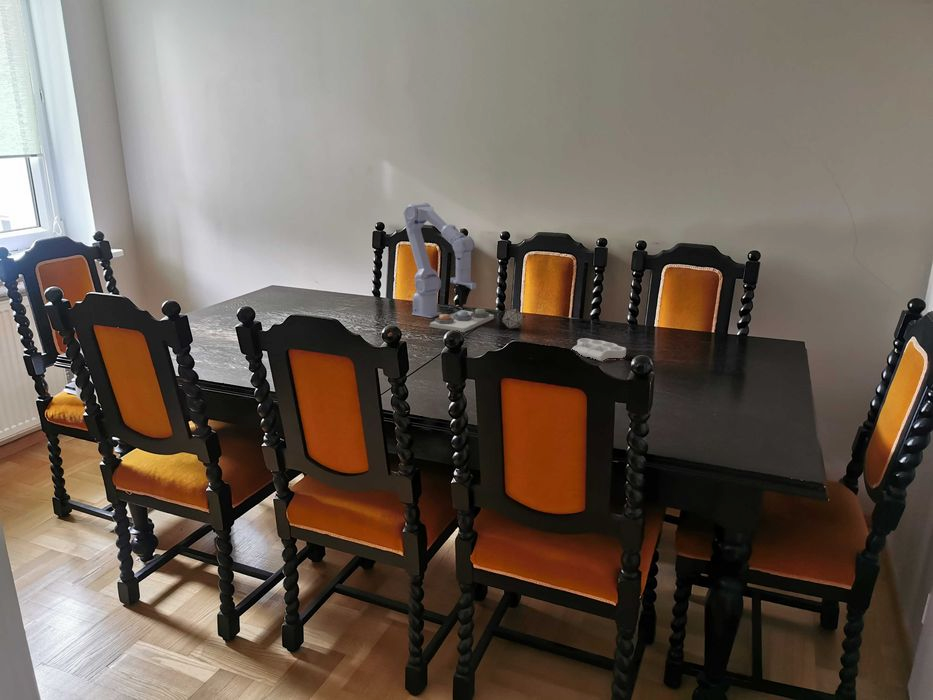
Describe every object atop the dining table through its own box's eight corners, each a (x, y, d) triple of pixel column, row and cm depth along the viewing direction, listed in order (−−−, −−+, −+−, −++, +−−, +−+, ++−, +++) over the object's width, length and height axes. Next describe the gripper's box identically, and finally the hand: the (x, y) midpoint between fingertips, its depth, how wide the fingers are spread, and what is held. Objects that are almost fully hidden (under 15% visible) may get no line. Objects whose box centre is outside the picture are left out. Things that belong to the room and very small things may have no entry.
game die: (516, 339, 261) (526, 322, 254) (495, 331, 261) (504, 314, 253) (520, 323, 267) (529, 306, 260) (499, 315, 267) (508, 297, 259)
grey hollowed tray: (563, 353, 234) (588, 345, 244) (608, 365, 222) (633, 356, 232) (563, 343, 233) (589, 335, 243) (609, 355, 221) (634, 346, 231)
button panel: (429, 326, 263) (429, 319, 262) (461, 313, 283) (461, 307, 282) (463, 332, 256) (463, 325, 255) (493, 318, 276) (493, 312, 275)
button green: (473, 315, 273) (473, 310, 272) (477, 313, 276) (478, 308, 275) (482, 316, 271) (482, 311, 270) (486, 314, 274) (487, 309, 273)
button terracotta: (437, 321, 263) (437, 315, 263) (442, 319, 267) (442, 313, 266) (446, 322, 262) (446, 317, 261) (451, 320, 265) (451, 314, 264)
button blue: (455, 318, 268) (455, 312, 267) (460, 316, 271) (460, 310, 271) (464, 319, 266) (464, 314, 266) (469, 317, 270) (469, 312, 269)
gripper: (443, 267, 267) (443, 301, 271) (465, 273, 255) (464, 309, 259) (459, 265, 271) (458, 299, 275) (480, 271, 259) (480, 307, 263)
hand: (462, 304), depth 267 cm, fingers closed
